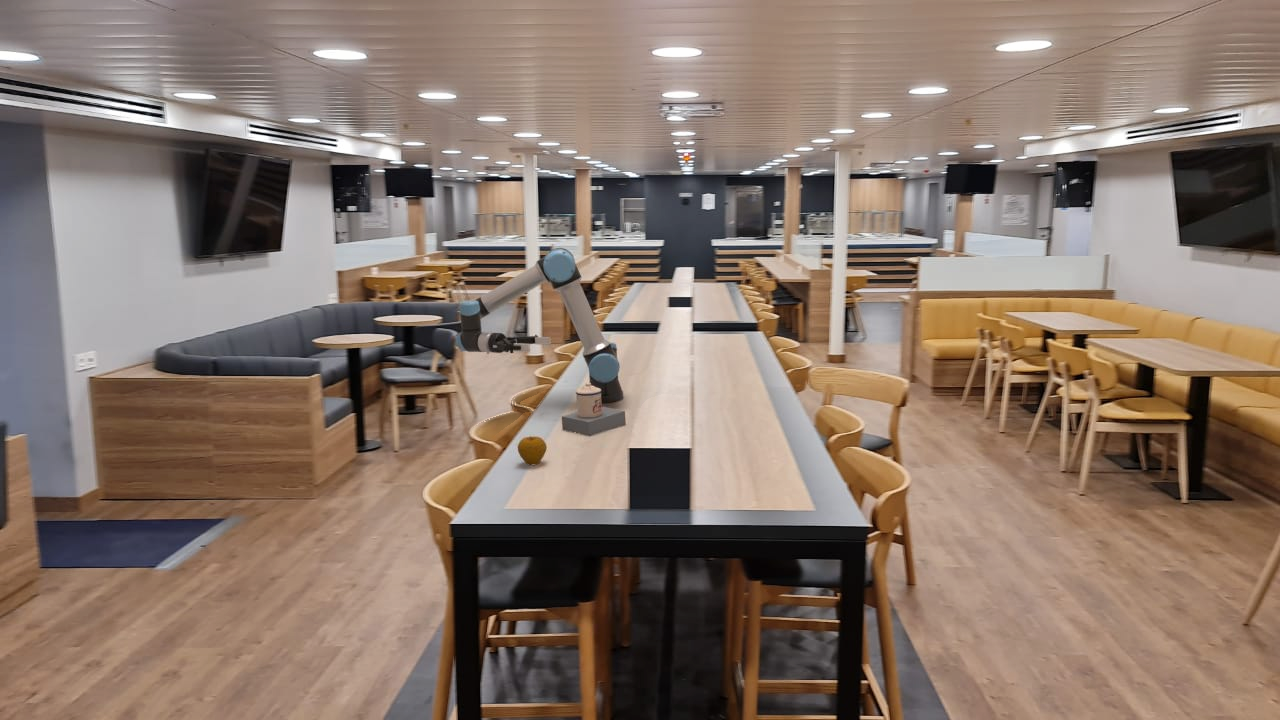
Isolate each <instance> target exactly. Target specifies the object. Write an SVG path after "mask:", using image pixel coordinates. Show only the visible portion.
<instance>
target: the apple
mask: <svg viewBox="0 0 1280 720" xmlns="http://www.w3.org/2000/svg"><path fill="white" fill-rule="evenodd" d="M547 448H548V447H547V443H546V442H545V440H544V439H543V438H541V437H539V436H531V435H530V436H526V437H523V438H521V439H520V440H519V442H518V444H517V452H518V454H519V456H520V458H521V459H522V460H523V461H524V463H526V464H527V465H528V464H529V466H533V465H532V464H536V465H538V464H540V463H541V461H542V459H543V458H544V456H545V453H546V452H547ZM537 463H538V464H537Z"/></svg>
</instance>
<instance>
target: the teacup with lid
mask: <svg viewBox="0 0 1280 720" xmlns="http://www.w3.org/2000/svg"><path fill="white" fill-rule="evenodd" d="M601 392H602V391H601V389H600V388H597V387H595V386H592V385H591V383H589V382H586V383H585V385H583V386H582V387H581V388H577V390H576V391H575V394H576V404H577V412H578V416H579V417H582V418H593V417H598V416H600V415H602V407H603V406H602V405H603V404H602V402H601Z"/></svg>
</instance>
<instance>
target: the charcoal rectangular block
mask: <svg viewBox="0 0 1280 720" xmlns="http://www.w3.org/2000/svg"><path fill="white" fill-rule="evenodd" d="M561 425H562V431H565V430H566V431H565V432H569V431H571V433H574V432H576V433H575V434H578V433H580V434H579V435H583V436H587V435H588V437H591V436H593V435H597V434H600V433H603V432H606V431H609V430H612V429H616V428H618V427H622V426H625V425H626V410H623V409H616V408H612V407H605V406H602V415H600V416H598V417H593V418H582V417H579V416H578V411H576V412H572V413H569V414H565V415H563V416H561Z"/></svg>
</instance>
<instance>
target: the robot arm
mask: <svg viewBox="0 0 1280 720" xmlns="http://www.w3.org/2000/svg"><path fill="white" fill-rule="evenodd" d="M582 278H583V277H582V275H581V273H580V271H579V268H578V266H577V263H576V260H575V257H574V255H573V254H572V253H571V251H569V250H568V249H566V248H563V247H557V248H553V249H551V250H550V251H549V252H548V253H547V254H546V255H545V256H543V257H542V258H540V259H538V260H537V261H536V262H535V264H534V265H533V266H532V267H530V268H528V269H526V270H525V271H523V272H521V273H519V274H517V275H516V276H514V277H512V278H511V279H509V280H508V281H507V280H506V281H505V282H503V283H502V284H500V285H498V286H496V287H495V288H493V289H492V290H489V291H488V292H486V293H485V294H483V295H481V296H480V297H478V298H476V299H475V300H470V299H469V300H464V301H461V302H460V303H459V304H458V305H459V318H460V325H461V327H460V328H461V332H459V333H457V335H456V339H455V343H456V347H457V348H458V350H460V351H462V352H468V353H472V352H473V353H475V352H476V353H486V354H488V355H489V354H490V353H494V354H502V353H503V352H505V353H510V354H514V352H526V353H527V352H528V353H529V352H530V351H531V348H530V347H531V346H530V345H533V344H535V345H539V346H540V345H541V346H542V345H545V346H547V345H548V346H550V345H552V340H551V339H552V338H551V336H550V337H548V336H547V337H546V336H539V335H538V334H534V335H532V336H531V335H528V336H508V337H506V335H505V334H504V333H502V332H485V331H482V320H481V319H483V318H485V317H486V316H488V315H490V314H492V313H493V312H495V311H496V310H499V309H500V308H502V307H504V306H505V305H508V304H509V303H511V302H512V301H514V300H517V298H519V297H522V296H523V295H524V294H526V293H528V292H530V291H531V290H532V291H533V290H534V289H535V288H537V287H539V286H541V285H543V284H544V283H548V284H549V283H550V285H551V287H552V289H553V290H554V291H556V292H558V293H559V295H560V297H561V299H562V300H561V301H562V302H563V304H564V306H565V308H566V311H567V313H568V315H569V317H570V319H571V322H572V324H573V326H574V329H575V331H576V333H577V336H578V338H579V340H580V343H581V344H582V347H583V351H582V357H583V359H584V362H585V363H586V366H587V368H588V376H589V378H588V379H589V381H588V383H591V385H592V386H595V387H597V388H600V389H601V391H602V392H601V402H602V403H603V402H608V403H614V401H615V402H619V401H621V400H623V399H624V391H623V390H622V386H621V384H620V381H619V373H620V368H621V364H620V362H619V359H618V348H617V344H616V342H611V341H608V340H606V339H605V338H604V335H603V334H602V333H603V332H602V331H601V328H600V327H599V324H598V322H597V319H596V317H595V315H594V313H593V310H592V308H591V305H590V304H589V301H588V299H587V297H586V294H585V292H584V289H583V287H582V286H581V280H582ZM530 353H531V352H530ZM618 400H619V401H618ZM603 404H604V403H603Z"/></svg>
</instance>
